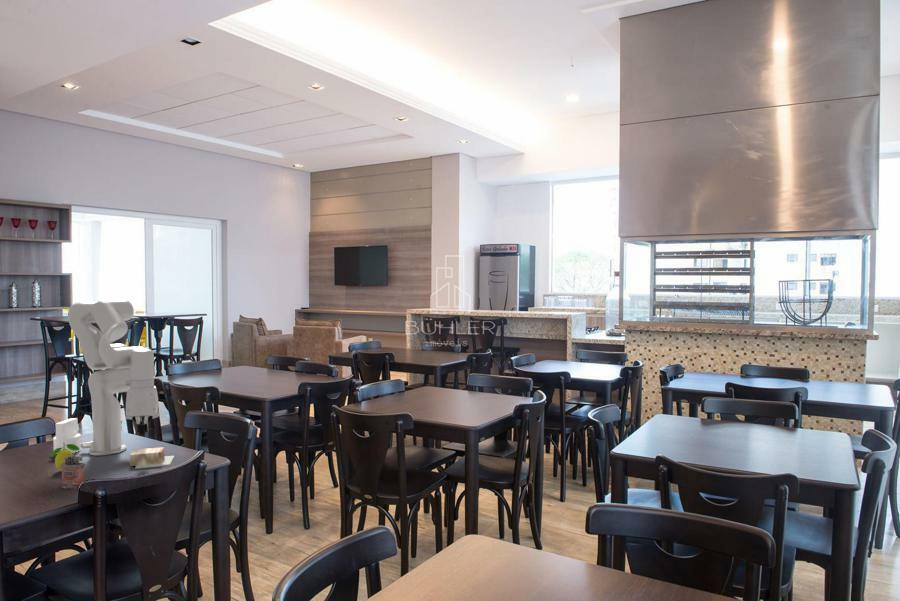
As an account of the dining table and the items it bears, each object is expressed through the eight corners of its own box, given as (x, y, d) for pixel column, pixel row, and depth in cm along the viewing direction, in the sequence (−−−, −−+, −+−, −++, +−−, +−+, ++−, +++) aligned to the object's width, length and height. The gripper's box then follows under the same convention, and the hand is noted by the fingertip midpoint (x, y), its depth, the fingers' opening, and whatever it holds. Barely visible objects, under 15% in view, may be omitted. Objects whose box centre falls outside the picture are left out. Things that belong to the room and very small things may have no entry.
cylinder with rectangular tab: (71, 454, 227) (70, 423, 227) (48, 455, 227) (47, 423, 227) (86, 448, 236) (85, 418, 236) (63, 448, 236) (62, 418, 236)
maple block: (129, 454, 210) (160, 452, 213) (134, 449, 217) (164, 447, 220) (130, 466, 210) (161, 463, 213) (134, 460, 217) (164, 457, 220)
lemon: (80, 468, 210) (79, 440, 209) (65, 474, 204) (64, 444, 204) (65, 467, 212) (64, 439, 211) (50, 472, 206) (49, 443, 206)
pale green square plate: (135, 468, 209) (135, 467, 209) (141, 459, 220) (141, 458, 220) (169, 465, 212) (169, 464, 212) (174, 456, 223) (174, 455, 223)
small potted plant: (58, 487, 190) (57, 456, 190) (67, 484, 194) (66, 453, 193) (79, 489, 188) (78, 458, 188) (88, 486, 192) (87, 455, 191)
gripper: (116, 386, 208) (117, 438, 209) (163, 384, 213) (163, 435, 214) (121, 382, 216) (122, 432, 217) (166, 381, 220) (167, 430, 221)
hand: (142, 434), depth 215 cm, fingers closed
